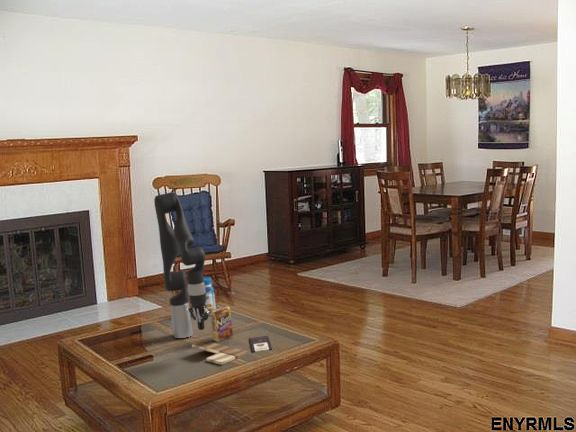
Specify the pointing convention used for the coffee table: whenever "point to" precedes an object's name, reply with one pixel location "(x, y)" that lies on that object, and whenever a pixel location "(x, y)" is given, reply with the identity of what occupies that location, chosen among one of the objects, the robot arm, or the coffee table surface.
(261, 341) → the chocolate bar
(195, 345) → the plank
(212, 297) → the beverage bottle
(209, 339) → the coffee table surface
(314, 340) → the coffee table surface
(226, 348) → the laid row
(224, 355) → the plank
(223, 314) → the candy box
